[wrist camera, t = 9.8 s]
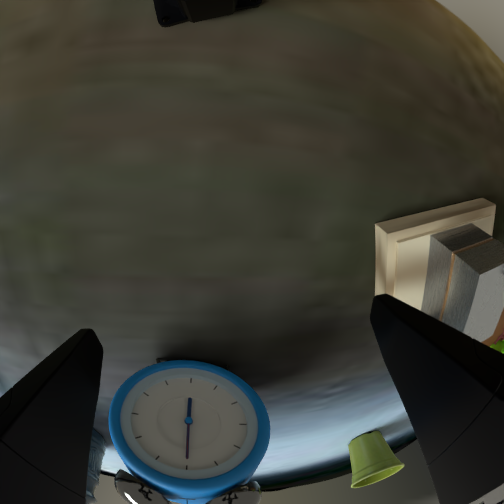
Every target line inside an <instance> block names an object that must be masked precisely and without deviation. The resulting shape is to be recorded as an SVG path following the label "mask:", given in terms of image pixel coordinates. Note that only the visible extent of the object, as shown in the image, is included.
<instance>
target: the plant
mask: <svg viewBox="0 0 504 504" xmlns="http://www.w3.org/2000/svg"><path fill="white" fill-rule="evenodd" d="M481 343H483V344H485V345H487V346H489V347H491V348H493V349H495V350H497V351H499V352H502V353H504V308H503V311H502V313H501V316H500V319H499V321H498V324H497V326H496V329H495V331H494V333H493V335H492V336H491V337H489V338H487V339H486V340H484V341H482V342H481Z"/></svg>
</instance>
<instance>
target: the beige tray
mask: <svg viewBox="0 0 504 504" xmlns="http://www.w3.org/2000/svg"><path fill="white" fill-rule="evenodd" d="M495 209H496V205H495V204H494V203H492V202H490V201H488V200H486V199H484V198H479V199H475V200H471V201H466V202H462V203H458V204H454V205H450V206H446V207H442V208H437V209H433V210H429V211H425V212H421V213H417V214H413V215H408V216H404V217H400V218H396V219H392V220H388V221H383V222H379V223H375V238H376V277H375V296H376V295H379V294H384V293H386V294H389V295H391V296H393V297H395V298H397V299H399V300H401V301H403V302H405V303H407V304H409V305H411V306H413V307H414V308H416V309H418V310H420V311H421V307H422V301H423V295H424V288H425V282H426V274H427V266H428V257H429V247H430V235H433V234H436V233H440V232H443V231H446V230H450V229H453V228H457V227H460V226H463V225H467V224H470V223H472V224H474V225H475V226H477V227H478V228H480V229H482V230H483V231H485V232H486V233H488V234H489V235H491V236H492V232H493V225H494V218H495Z"/></svg>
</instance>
